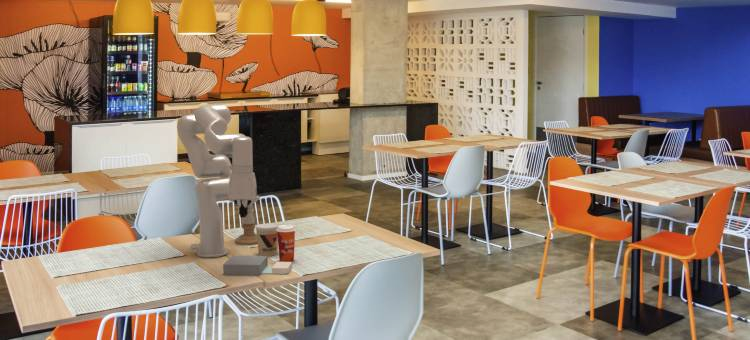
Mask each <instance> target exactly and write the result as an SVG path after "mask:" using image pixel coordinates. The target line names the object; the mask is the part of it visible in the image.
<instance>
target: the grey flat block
mask: <svg viewBox="0 0 750 340" xmlns="http://www.w3.org/2000/svg"><path fill="white" fill-rule="evenodd" d="M268 257H269V256H260V255H239V254H238V255H231V256H230V257H229V258H228V259H227V260H226V261H225V262H223V264H222V270H223V274H222V275H224V276H225V275H226V276H261V275H262V274H261V273H262V272H263V270H264V269H265V268H266V267H267V266H269V265H268V264H269V263H268V262H269V261H268Z"/></svg>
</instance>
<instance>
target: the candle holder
mask: <svg viewBox="0 0 750 340" xmlns="http://www.w3.org/2000/svg"><path fill="white" fill-rule="evenodd" d="M256 197H257V201H258V200H260V198H261V197H260V195H257V196H256ZM244 201H245V200H242V204H243V205H244ZM253 204H254V203H250V204H249V205H248V214H247V215H246V217H245V218H243V217H242V220H241V221H242V224H243V225H242V226H241V228H242V229H243V234H241V235H239V236H237V237H236V238H235V239H234V241H235V243H236V244H237V245H240V246H241V245H242V246H243V245H245V246H250V245H251V246H253V245H258V243H257V233H256V232H255V229H256V227H257V225H255V224H254V223H255V221H256V219H255V216H254V211H255V209H254V207H253ZM252 244H253V245H252Z"/></svg>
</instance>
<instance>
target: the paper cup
mask: <svg viewBox="0 0 750 340" xmlns="http://www.w3.org/2000/svg"><path fill="white" fill-rule="evenodd" d="M296 230H297V229H296V228H295V225H293V224H282V225H278V227H277V230H276V231H277V234H278V255H279V262H292V263H294V261H295V244H296V243H295V240H296V239H295V237H296Z"/></svg>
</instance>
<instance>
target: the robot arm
mask: <svg viewBox="0 0 750 340" xmlns="http://www.w3.org/2000/svg"><path fill="white" fill-rule="evenodd" d="M229 108H230V107H228V106H227V105H225V104H223V103H221V104H220V103H218V104H205V105H203V104H202V105H199V106H198V107H197V108H196V109H195V111H194V113H192V114H186V115H183V116H182V115H181V117H179V119H177V122H176V129H177V130H176V131H177V135H178V137H179V140H180V142H181V143H182V145H183V147H184V148H185V150H186V153H187V156H188V160H189V163H190V166H191V169H192V172H193V175H194V176H195V178H197V179H201V180H199V181H198V182H197V184H196V185H195V195H196V201H197V207H198V219H199V221H198V222H199V223H198V224H199V240H200V242H199V243H198V244H197V243H191V244H190V248H191V250H197V251H196V256H197V257H199V258H204V259H205V258H209V259H211V258H212V259H213V258H221V257H224V256H226V255H228V254H229V250H228V249H227V248H225V244H224V243H225V242H224V240H225V239H224V217H223V209H222V208H221V207H220V205H218V203H217V202H220V201H222V202H223V201H229V202H230V203H231V202H232V203H234V204H236V206H237V207H238V215H239V218H241V219H243V218H245V217H246V215H247V214H248V205H249V204H250V203H253V204H254V203H257V202H258V200H257V197H256V196H258V190H257V188H258V186H257V179H256V174H255V172H253V171H254V165H253V164H254V163H253V155H254V154H253V139H252V138H251V137H250V136H246V135H245V134H243V133H227V130H228V125H229V123H230V122H231V119H232V112H231V110H230V109H229ZM197 135H203V136H204V138H203V139H204V141H203V140H202V139H201V138H200V137H199V136H197ZM209 151H211V152H212V153H213V154H211V153H210V152H209ZM227 155H231V156H232V158H231V159H232V160H230V158H229V157H228V156H227ZM231 161H232V163H231ZM242 200H245V201H244V204H243V203H242Z"/></svg>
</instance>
